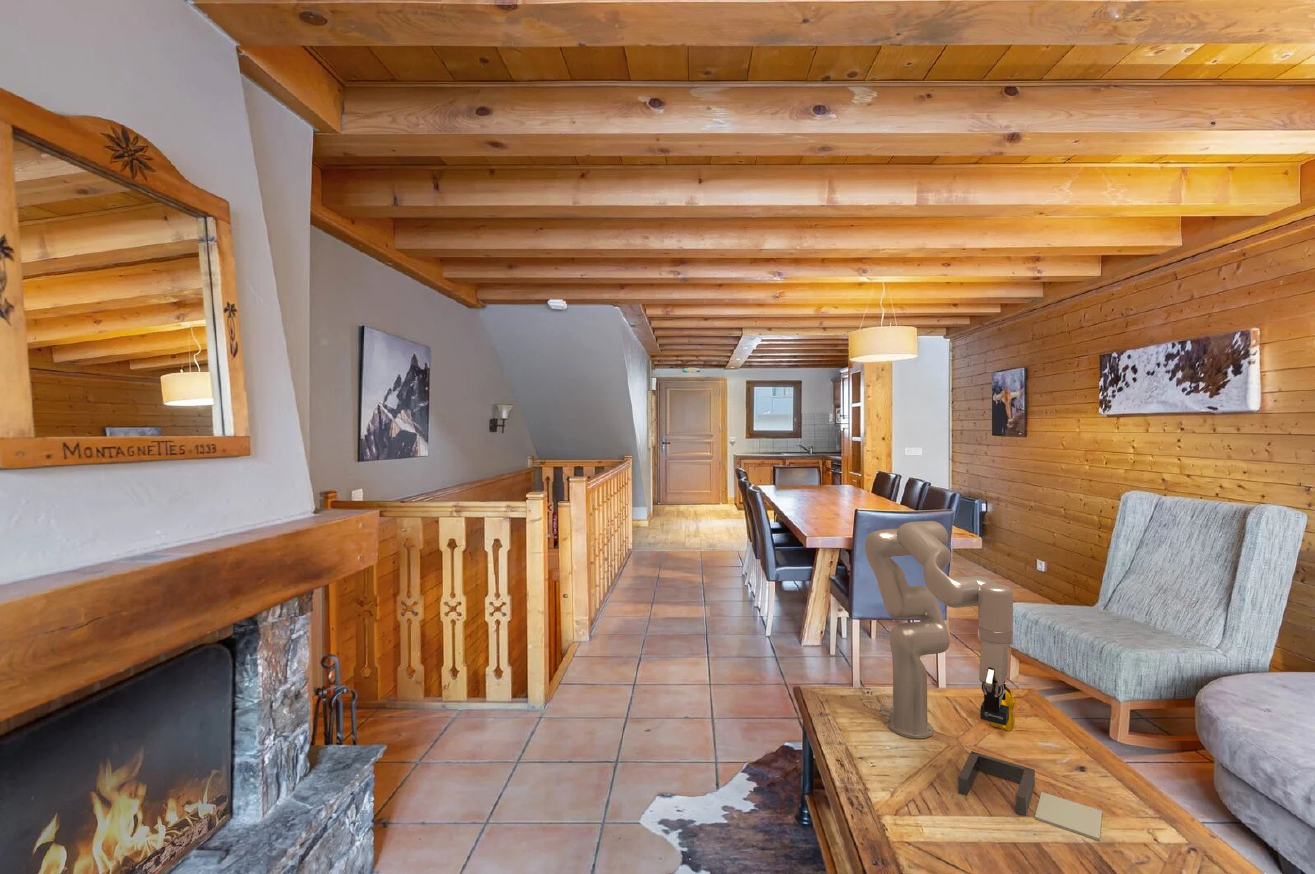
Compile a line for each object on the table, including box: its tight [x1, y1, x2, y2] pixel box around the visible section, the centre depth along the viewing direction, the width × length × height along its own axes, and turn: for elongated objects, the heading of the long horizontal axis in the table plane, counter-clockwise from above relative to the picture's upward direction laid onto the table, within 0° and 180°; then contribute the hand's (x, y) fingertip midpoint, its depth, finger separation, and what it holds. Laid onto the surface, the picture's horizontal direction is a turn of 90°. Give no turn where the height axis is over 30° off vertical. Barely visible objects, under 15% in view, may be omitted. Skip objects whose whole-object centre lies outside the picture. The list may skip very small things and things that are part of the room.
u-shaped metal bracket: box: [957, 750, 1036, 817], centre depth 150 cm, size 14×15×4 cm
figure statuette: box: [990, 685, 1016, 732], centre depth 182 cm, size 18×8×22 cm, turn 144°
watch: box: [979, 674, 1009, 726], centre depth 148 cm, size 6×8×11 cm
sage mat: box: [1034, 791, 1103, 842], centre depth 139 cm, size 12×12×1 cm
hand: (995, 704), depth 149 cm, fingers closed on watch, 8 cm apart
